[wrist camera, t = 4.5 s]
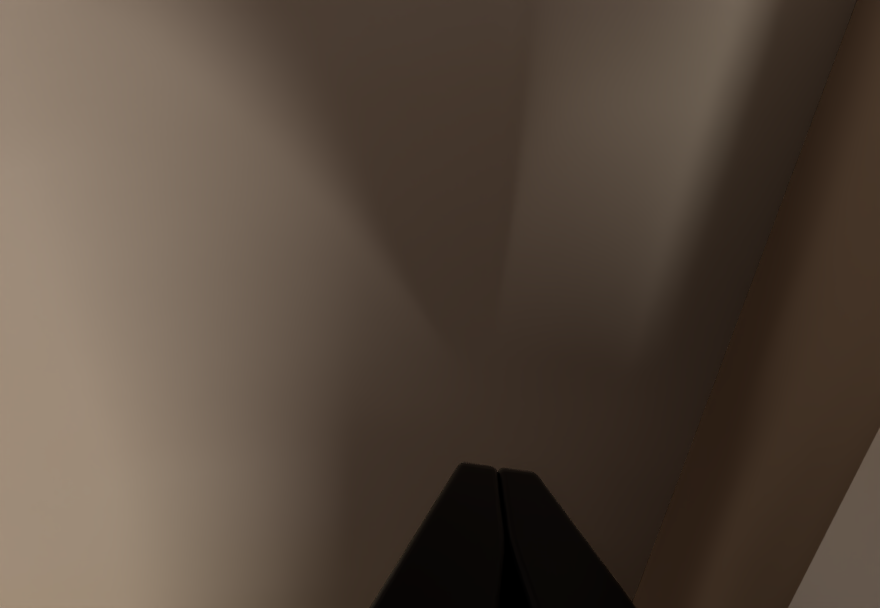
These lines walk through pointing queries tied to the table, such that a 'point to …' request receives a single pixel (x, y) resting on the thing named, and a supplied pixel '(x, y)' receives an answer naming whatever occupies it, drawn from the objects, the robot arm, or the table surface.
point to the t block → (796, 388)
